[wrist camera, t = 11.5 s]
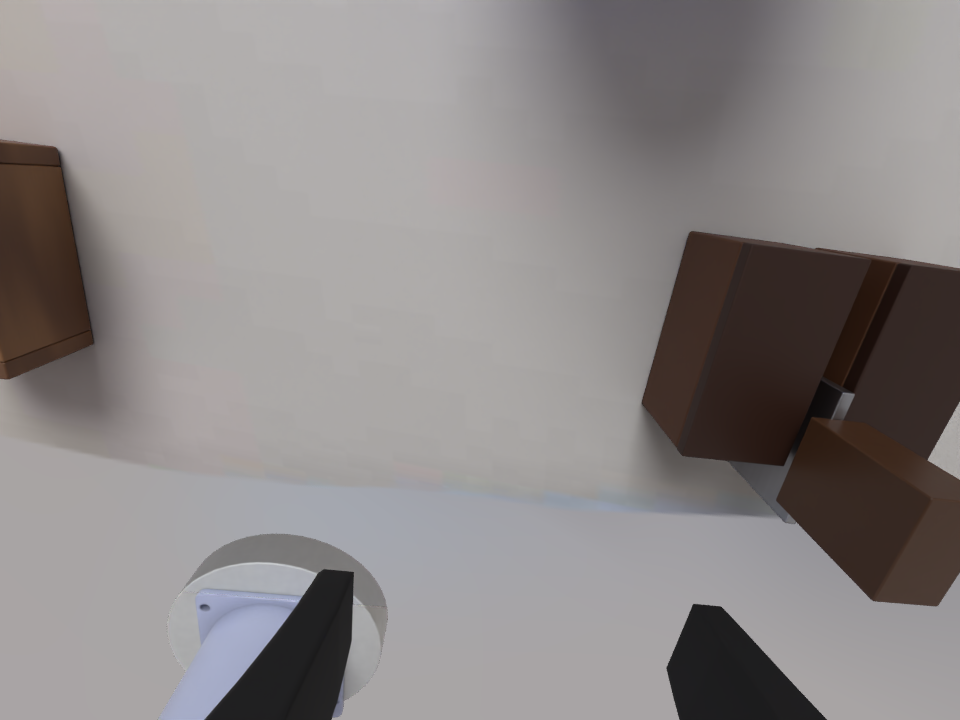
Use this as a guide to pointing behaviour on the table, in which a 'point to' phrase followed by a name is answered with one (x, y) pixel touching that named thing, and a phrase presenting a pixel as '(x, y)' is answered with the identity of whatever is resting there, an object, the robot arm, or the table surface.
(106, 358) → the table surface
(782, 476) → the brown and grey piece
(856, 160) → the table surface
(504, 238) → the table surface
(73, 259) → the knife block
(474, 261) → the table surface
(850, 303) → the split wooden block
